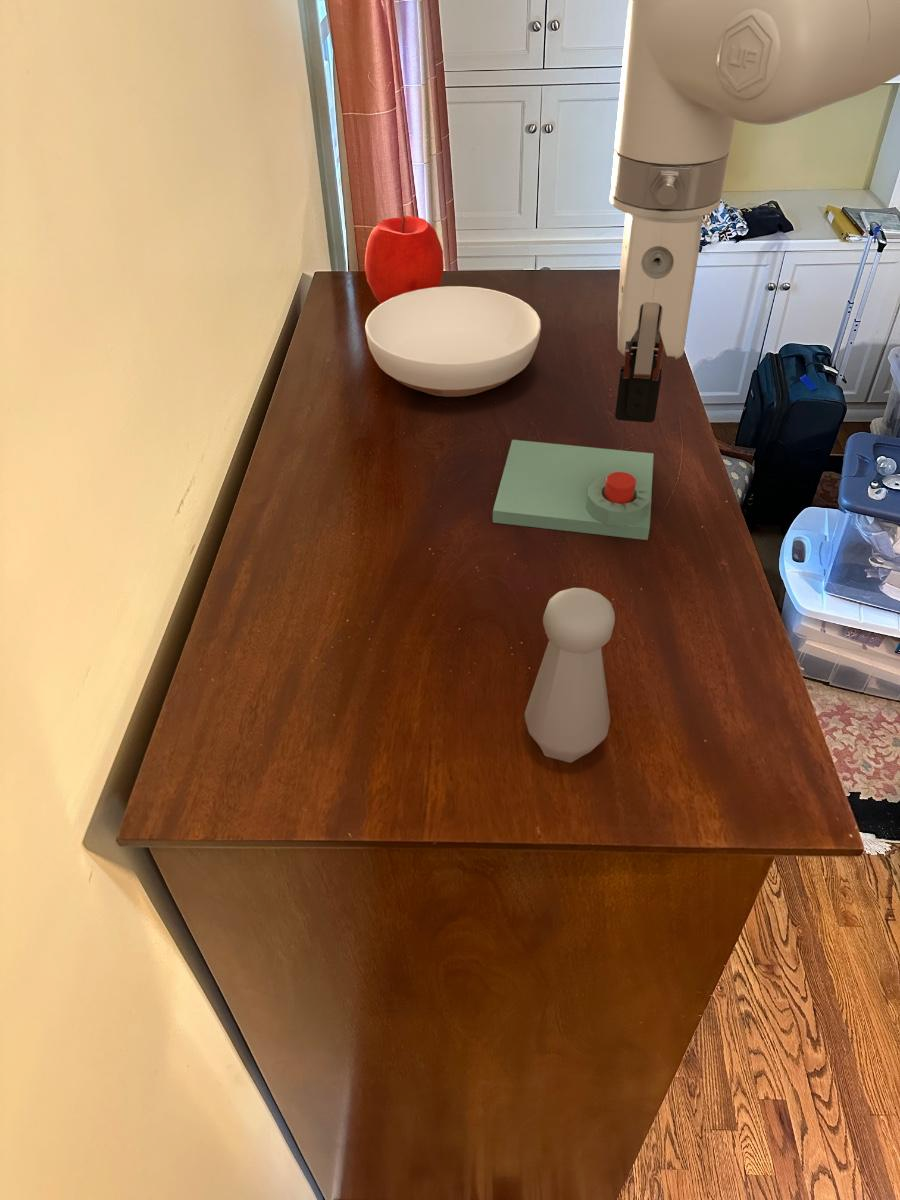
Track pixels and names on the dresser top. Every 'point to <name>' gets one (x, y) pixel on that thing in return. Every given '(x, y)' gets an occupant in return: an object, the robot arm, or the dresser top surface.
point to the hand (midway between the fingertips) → (634, 416)
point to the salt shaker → (572, 676)
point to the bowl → (453, 339)
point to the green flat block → (573, 489)
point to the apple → (403, 257)
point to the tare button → (620, 487)
